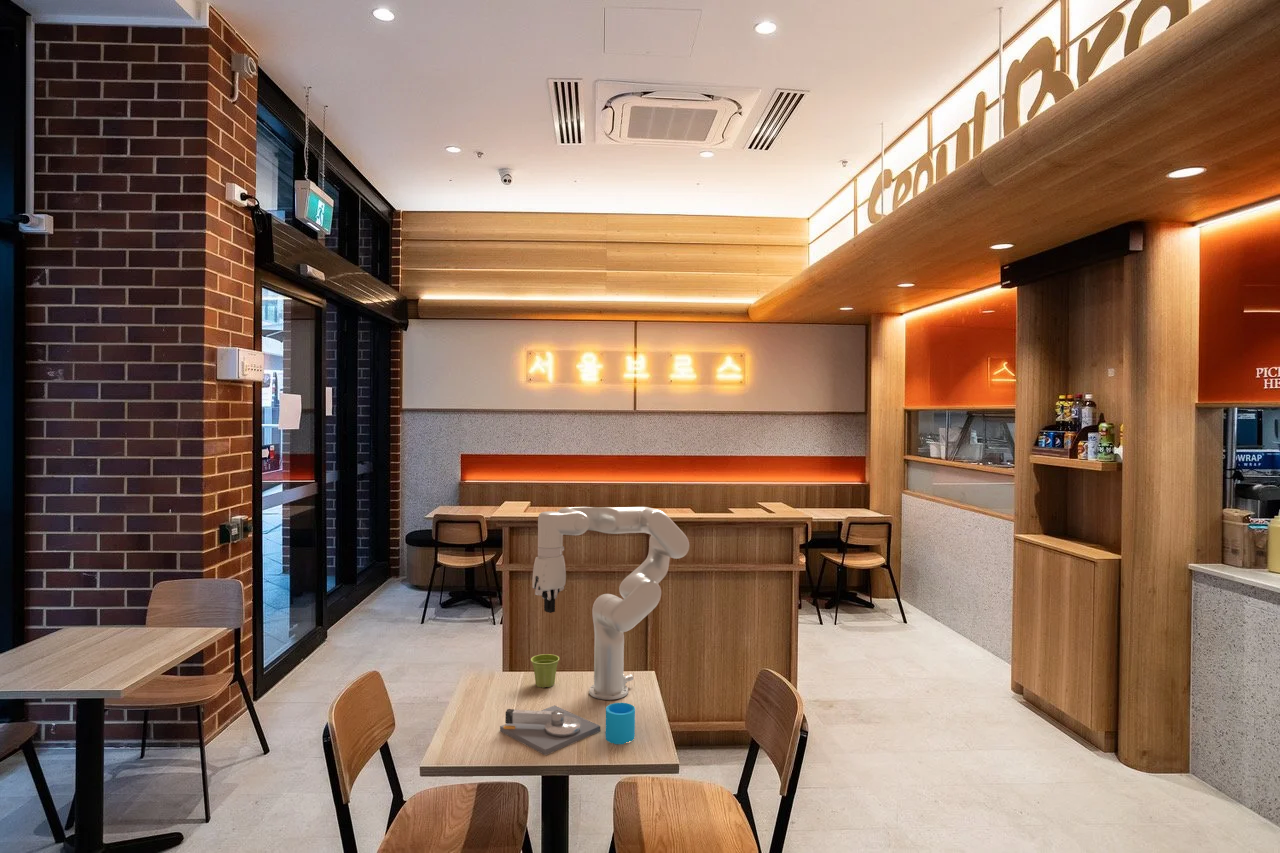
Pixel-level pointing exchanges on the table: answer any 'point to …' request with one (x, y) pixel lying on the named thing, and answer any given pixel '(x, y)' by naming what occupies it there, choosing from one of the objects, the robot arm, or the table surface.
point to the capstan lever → (546, 721)
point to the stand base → (541, 740)
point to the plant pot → (545, 669)
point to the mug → (620, 723)
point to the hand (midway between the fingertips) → (549, 611)
